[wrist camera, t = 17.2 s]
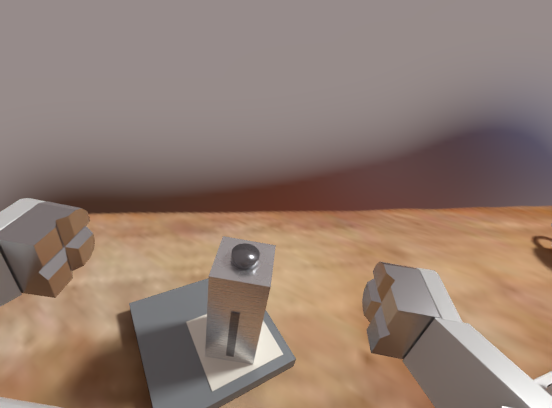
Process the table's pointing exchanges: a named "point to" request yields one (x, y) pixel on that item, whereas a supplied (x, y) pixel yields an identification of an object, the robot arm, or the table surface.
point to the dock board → (197, 352)
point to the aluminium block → (237, 299)
